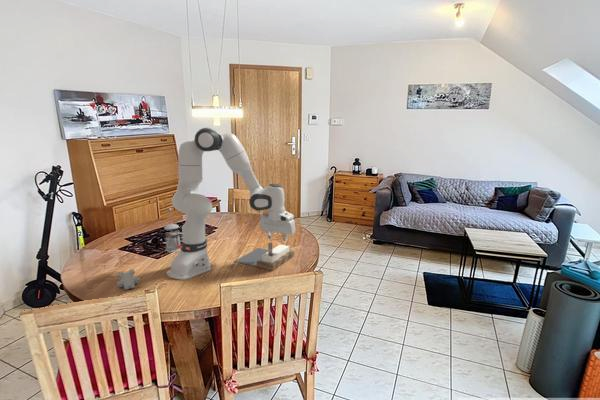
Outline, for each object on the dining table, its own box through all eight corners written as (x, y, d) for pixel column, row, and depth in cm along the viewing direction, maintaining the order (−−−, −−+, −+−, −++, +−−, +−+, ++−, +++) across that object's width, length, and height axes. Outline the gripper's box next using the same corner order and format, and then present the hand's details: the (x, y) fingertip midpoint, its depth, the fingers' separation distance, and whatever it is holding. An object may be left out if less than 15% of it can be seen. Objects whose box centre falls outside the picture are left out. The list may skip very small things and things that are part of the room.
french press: (174, 245, 208) (171, 205, 202) (188, 248, 202) (184, 207, 196) (161, 250, 199) (156, 208, 194) (174, 254, 194) (170, 211, 188)
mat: (254, 266, 177) (254, 265, 177) (234, 261, 183) (234, 261, 183) (276, 252, 196) (276, 251, 196) (258, 248, 202) (258, 247, 202)
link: (271, 263, 174) (271, 257, 173) (261, 260, 176) (261, 255, 176) (289, 251, 189) (289, 246, 188) (280, 249, 192) (280, 244, 191)
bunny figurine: (117, 285, 149) (113, 269, 161) (118, 295, 150) (115, 278, 162) (140, 280, 154) (136, 264, 166) (141, 289, 155) (137, 274, 167)
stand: (273, 270, 172) (272, 248, 169) (256, 267, 176) (255, 245, 173) (294, 255, 191) (294, 235, 188) (279, 252, 195) (278, 232, 192)
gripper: (256, 214, 180) (258, 238, 184) (290, 218, 171) (291, 244, 175) (263, 211, 186) (264, 234, 189) (296, 215, 177) (297, 240, 180)
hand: (277, 239), depth 182 cm, fingers open, 8 cm apart
